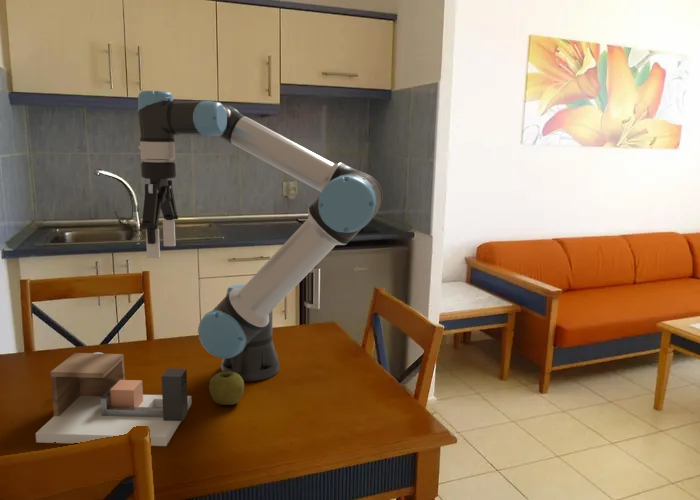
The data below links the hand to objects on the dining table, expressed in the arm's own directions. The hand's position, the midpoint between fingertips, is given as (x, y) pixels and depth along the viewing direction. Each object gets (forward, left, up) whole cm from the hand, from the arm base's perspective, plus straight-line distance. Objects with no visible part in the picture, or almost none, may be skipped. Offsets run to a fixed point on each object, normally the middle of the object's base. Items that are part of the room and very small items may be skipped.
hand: (162, 251), depth 132 cm
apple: (-17, +9, -34) cm, 39 cm away
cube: (+4, +15, -32) cm, 36 cm away
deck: (+4, +19, -34) cm, 39 cm away
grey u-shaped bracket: (-1, +18, -32) cm, 36 cm away
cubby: (+12, +16, -32) cm, 37 cm away
